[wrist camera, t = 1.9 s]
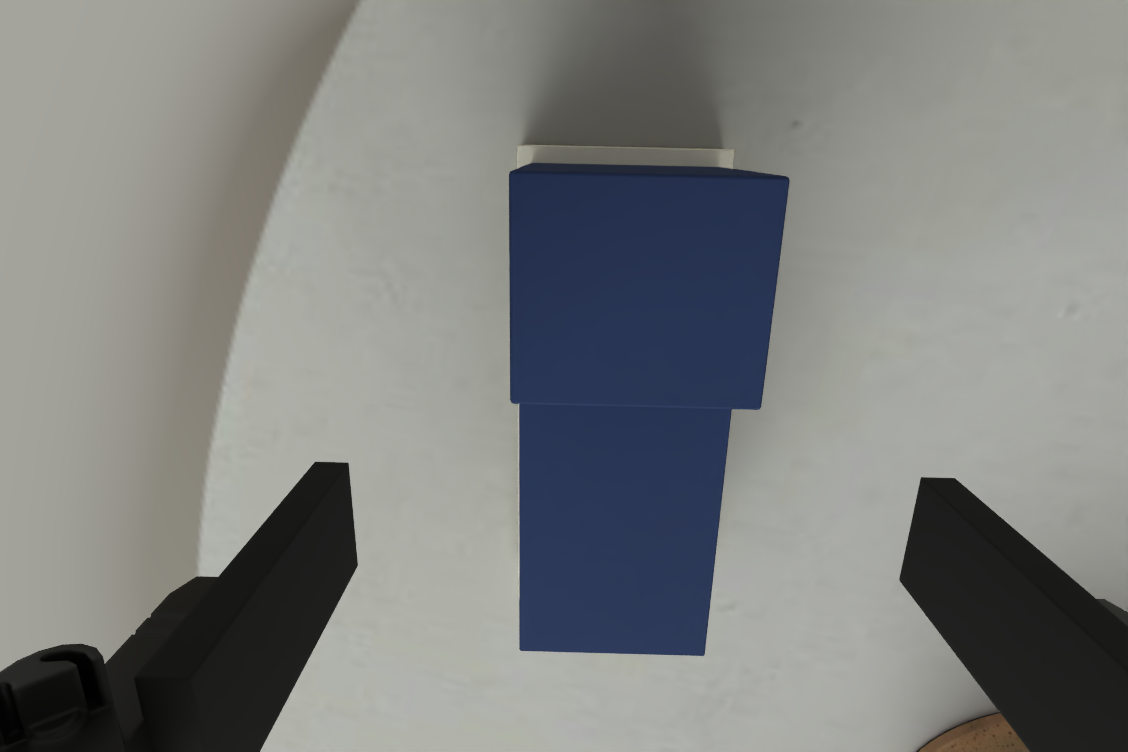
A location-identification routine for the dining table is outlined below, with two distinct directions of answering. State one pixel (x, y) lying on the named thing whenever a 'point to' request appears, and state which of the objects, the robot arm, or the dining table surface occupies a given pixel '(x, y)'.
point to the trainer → (631, 382)
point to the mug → (979, 737)
